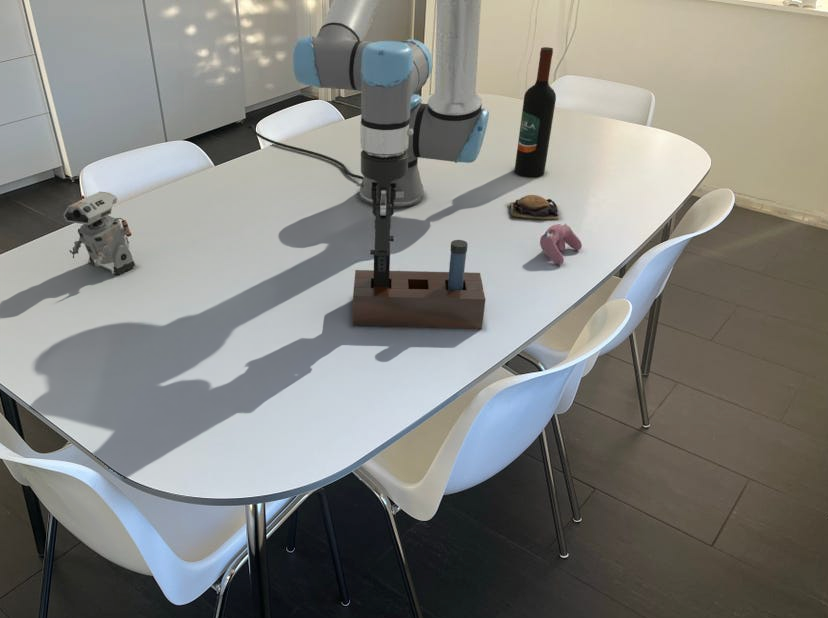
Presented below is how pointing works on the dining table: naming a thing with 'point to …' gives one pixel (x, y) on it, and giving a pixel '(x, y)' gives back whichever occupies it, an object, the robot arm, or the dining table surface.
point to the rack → (418, 301)
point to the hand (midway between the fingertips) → (381, 281)
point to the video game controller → (558, 242)
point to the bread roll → (534, 208)
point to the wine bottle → (536, 122)
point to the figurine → (101, 231)
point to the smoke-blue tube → (457, 264)
